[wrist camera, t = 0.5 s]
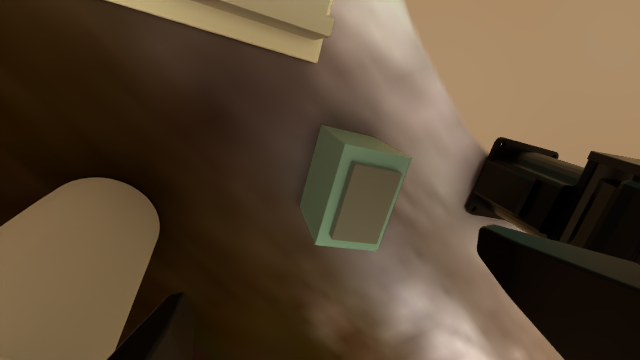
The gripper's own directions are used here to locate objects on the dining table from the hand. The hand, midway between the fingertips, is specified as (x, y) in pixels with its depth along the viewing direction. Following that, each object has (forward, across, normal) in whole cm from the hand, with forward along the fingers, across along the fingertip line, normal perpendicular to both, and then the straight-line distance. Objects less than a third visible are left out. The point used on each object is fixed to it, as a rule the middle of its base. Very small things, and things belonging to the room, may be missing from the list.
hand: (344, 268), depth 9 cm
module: (+12, -3, +2) cm, 13 cm away
